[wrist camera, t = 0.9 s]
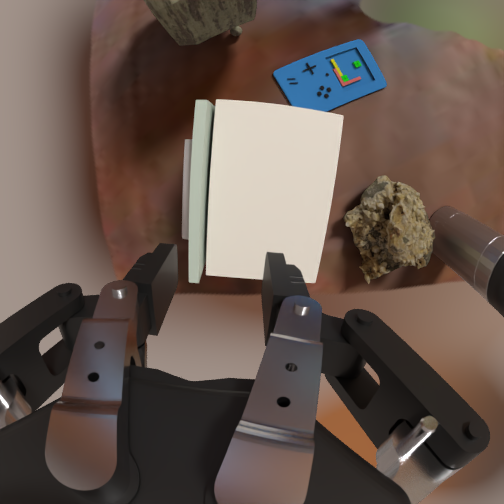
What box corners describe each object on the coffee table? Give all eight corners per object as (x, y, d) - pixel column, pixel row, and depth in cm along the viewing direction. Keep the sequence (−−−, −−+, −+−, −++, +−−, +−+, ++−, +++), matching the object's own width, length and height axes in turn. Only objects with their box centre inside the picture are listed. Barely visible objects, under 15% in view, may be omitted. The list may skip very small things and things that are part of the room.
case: (314, 120, 34) (343, 115, 23) (298, 242, 41) (315, 283, 30) (226, 110, 33) (216, 99, 22) (217, 235, 41) (205, 275, 30)
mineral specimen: (320, 201, 39) (342, 222, 30) (390, 159, 36) (426, 169, 27) (359, 274, 44) (382, 308, 35) (419, 235, 41) (452, 260, 32)
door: (222, 112, 33) (207, 100, 20) (213, 235, 40) (198, 283, 27) (204, 111, 32) (180, 99, 20) (197, 233, 39) (176, 281, 27)
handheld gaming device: (272, 71, 30) (362, 37, 28) (271, 73, 32) (359, 39, 29) (302, 123, 33) (389, 85, 31) (301, 123, 34) (386, 86, 32)
